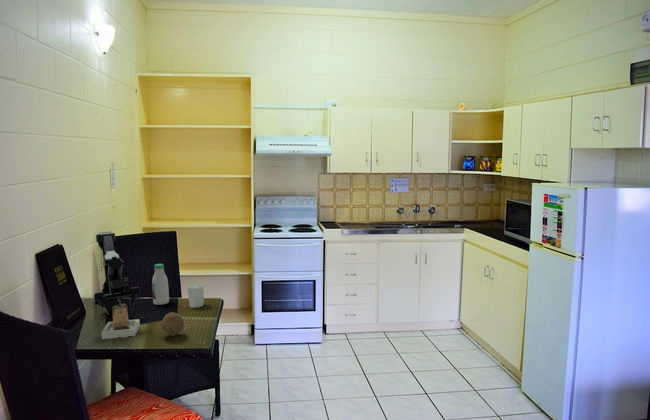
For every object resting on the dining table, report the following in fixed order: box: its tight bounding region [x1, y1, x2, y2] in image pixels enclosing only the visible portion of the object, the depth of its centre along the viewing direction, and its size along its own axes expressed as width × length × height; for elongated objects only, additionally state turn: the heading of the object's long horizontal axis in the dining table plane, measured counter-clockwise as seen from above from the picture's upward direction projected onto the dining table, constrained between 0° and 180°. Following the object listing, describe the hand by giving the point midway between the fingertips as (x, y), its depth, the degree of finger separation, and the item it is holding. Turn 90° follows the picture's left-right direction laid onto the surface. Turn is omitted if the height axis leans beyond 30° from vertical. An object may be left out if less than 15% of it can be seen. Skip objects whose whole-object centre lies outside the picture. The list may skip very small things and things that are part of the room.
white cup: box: [186, 283, 205, 309], centre depth 250 cm, size 8×8×10 cm
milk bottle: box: [151, 263, 170, 306], centre depth 255 cm, size 8×8×20 cm
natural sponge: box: [160, 312, 185, 337], centre depth 209 cm, size 9×9×10 cm
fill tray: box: [101, 319, 141, 340], centre depth 215 cm, size 13×13×3 cm
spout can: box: [112, 303, 129, 330], centre depth 213 cm, size 8×6×11 cm
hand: (120, 312), depth 213 cm, fingers open, 9 cm apart
